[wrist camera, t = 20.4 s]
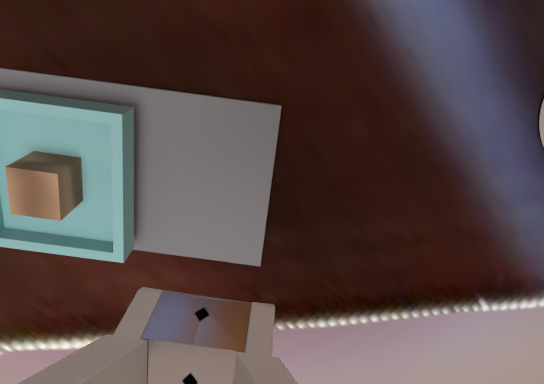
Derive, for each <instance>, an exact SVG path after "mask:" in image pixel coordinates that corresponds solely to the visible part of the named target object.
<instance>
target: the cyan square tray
mask: <svg viewBox="0 0 544 384" xmlns="http://www.w3.org/2000/svg"><path fill="white" fill-rule="evenodd" d="M33 151H38V152H45V153H52V154H60V155H67V156H74V157H81V163H82V186H83V201H82V202H81V203H80V204H79V205H78V206H77V207H75V208H74V209H73V210H72V211H71V212H70V213H69V214H68V215H67V216H66V217H64V218H63V219H62V220H61V221H58V220H51V219H43V218H36V217H29V216H22V215H14V214H11V213H10V205H9V196H8V188H7V179H6V170H5V167H6V166H7V165H9V164H11V163H13V162H15V161H17V160H18V159H20V158H22V157H24V156H26V155H28V154H29V153H31V152H33ZM0 247H7V248H14V249H22V250H29V251H37V252H44V253H52V254H60V255H67V256H75V257H82V258H90V259H97V260H105V261H112V262H120V263H124V262H125V260H126V259H127V257H128V256H129V254H130V253H131V251H132V250H133V248H134V107H129V106H121V105H114V104H106V103H99V102H91V101H84V100H76V99H69V98H61V97H54V96H47V95H39V94H32V93H24V92H17V91H9V90H2V89H0Z"/></svg>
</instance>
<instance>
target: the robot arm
mask: <svg viewBox="0 0 544 384" xmlns="http://www.w3.org/2000/svg"><path fill="white" fill-rule="evenodd" d="M539 129H540V137H541V141H542V144H543V147H544V100H543V103H542V107H541V111H540V119H539ZM250 310H251V311H250ZM274 314H275V306H274V304H265V303H256V302H252V305H251V303H248V302H241V301H233V300H225V299H217V298H210V297H205V296H199V295H192V294H186V293H179V292H173V291H167V290H165V291H163V290H159V289H152V288H145V287H142V288H141V289H139V290H138V292H137V293H136V295H135V297H134V299H133V300H132V302H131V304H130V306H129V308H128V309H127V311H126V313H125V315H124V317H123V318H122V320H121V322H120V324H119V325H118V327H117V329H116V331H115V333H114V334H113V336H112V335H105V336H103V337H101V338H99V339H97V340H96V341H94V342H92V343H90V344H88V345H87V346H85V347H83V348H81V349H79V350H78V351H76V352H74V353H72V354H71V355H69V356H67V357H65V358H64V359H61V360H60V361H58V362H56V363H54V364H52V365H51V366H49V367H47V368H45V369H43V370H42V371H40V372H38V373H36V374H35V375H33V376H31V377H29V378H27V379H25V380H23V381H22V382H20V383H18V384H298V383H297V382H296V381H295V379H294V378H293V377H292V375H291V374H290V373H289V371H288V370H287V368H286V367H285V366H284V364H283V363H282V362H281V360H280V359H279V358H278V357H272V344H273V329H274ZM249 318H250V319H249Z"/></svg>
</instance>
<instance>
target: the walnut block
mask: <svg viewBox="0 0 544 384" xmlns="http://www.w3.org/2000/svg"><path fill="white" fill-rule="evenodd" d="M5 170H6V179H7V188H8V196H9V205H10V213H11V214H14V215H22V216H29V217H36V218H43V219H51V220H58V221H61V220H62V219H63V218H64V217H66V216H67V215H68V214H69V213H70V212H71V211H72V210H73V209H74V208H75V207H77V206H78V205H79V204H80V203H81V202H82V201H83V186H82V163H81V157H74V156H67V155H60V154H52V153H45V152H38V151H33V152H31V153H29V154H28V155H26V156H24V157H22V158H20V159H18V160H17V161H15V162H13V163H11V164H9V165H7V166H6V167H5Z"/></svg>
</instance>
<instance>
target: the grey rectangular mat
mask: <svg viewBox="0 0 544 384" xmlns="http://www.w3.org/2000/svg"><path fill="white" fill-rule="evenodd" d="M0 89H2V90H9V91H17V92H24V93H32V94H39V95H47V96H54V97H61V98H69V99H76V100H84V101H91V102H99V103H106V104H114V105H121V106H129V107H134V248H133V250H141V251H148V252H156V253H163V254H171V255H179V256H186V257H194V258H201V259H209V260H216V261H224V262H231V263H239V264H247V265H254V266H260V265H261V257H262V250H263V242H264V235H265V227H266V220H267V212H268V205H269V197H270V190H271V182H272V175H273V167H274V160H275V152H276V145H277V137H278V130H279V122H280V115H281V107H282V105H276V104H269V103H262V102H254V101H247V100H239V99H232V98H224V97H217V96H209V95H202V94H194V93H187V92H179V91H172V90H164V89H157V88H150V87H142V86H135V85H127V84H120V83H112V82H105V81H97V80H90V79H82V78H75V77H67V76H60V75H52V74H45V73H38V72H30V71H23V70H15V69H8V68H0Z"/></svg>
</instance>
